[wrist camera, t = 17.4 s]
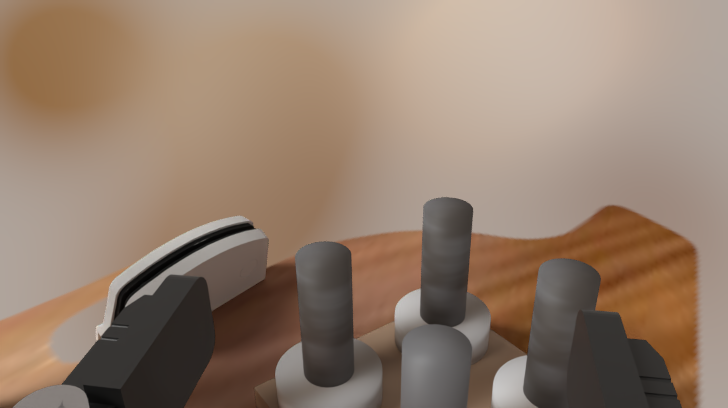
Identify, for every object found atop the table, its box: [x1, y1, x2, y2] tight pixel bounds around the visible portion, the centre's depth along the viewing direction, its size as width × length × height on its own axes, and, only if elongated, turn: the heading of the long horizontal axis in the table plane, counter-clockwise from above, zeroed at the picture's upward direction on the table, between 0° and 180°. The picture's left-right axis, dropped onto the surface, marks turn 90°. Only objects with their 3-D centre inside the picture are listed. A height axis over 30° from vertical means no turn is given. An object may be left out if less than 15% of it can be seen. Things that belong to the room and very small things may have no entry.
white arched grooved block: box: [96, 216, 269, 341], centre depth 58 cm, size 17×5×10 cm, turn 141°
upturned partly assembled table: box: [254, 197, 601, 408], centre depth 43 cm, size 19×19×15 cm
